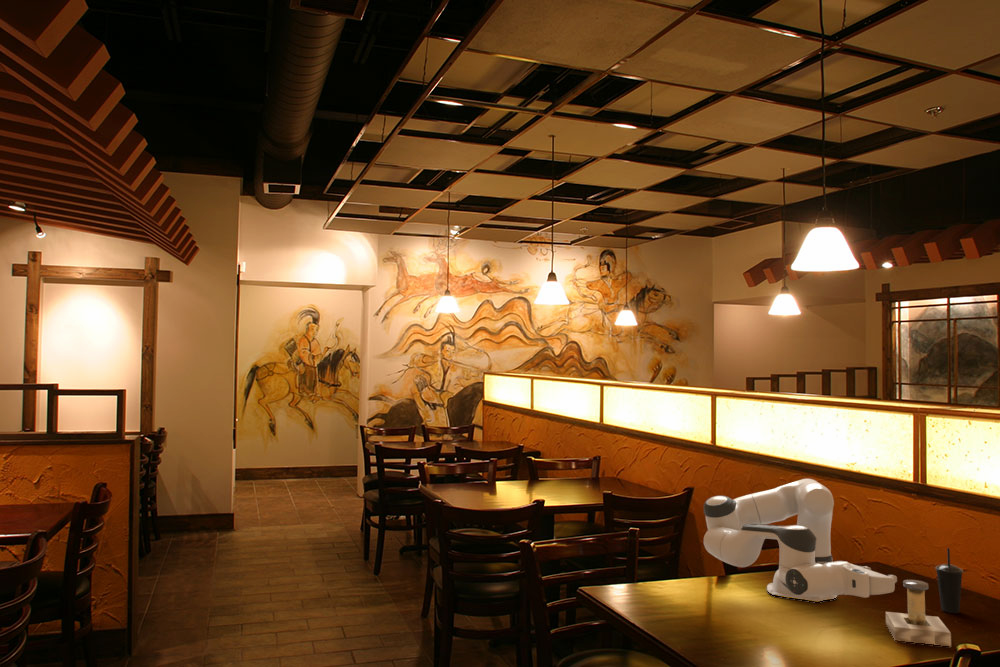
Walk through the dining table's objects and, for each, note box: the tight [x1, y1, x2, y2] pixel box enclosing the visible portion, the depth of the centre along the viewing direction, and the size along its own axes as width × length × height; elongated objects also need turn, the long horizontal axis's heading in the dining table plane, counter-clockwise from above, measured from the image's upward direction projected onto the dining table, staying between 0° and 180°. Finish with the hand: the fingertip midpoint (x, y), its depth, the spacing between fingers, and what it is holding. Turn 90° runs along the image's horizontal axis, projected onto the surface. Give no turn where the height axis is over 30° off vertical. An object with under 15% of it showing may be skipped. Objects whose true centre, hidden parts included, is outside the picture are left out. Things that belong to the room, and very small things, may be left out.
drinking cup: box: [935, 547, 964, 614], centre depth 230 cm, size 8×8×20 cm
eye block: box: [885, 611, 952, 648], centre depth 208 cm, size 14×14×4 cm
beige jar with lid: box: [902, 579, 929, 626], centre depth 209 cm, size 6×6×15 cm
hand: (881, 574), depth 206 cm, fingers open, 8 cm apart
